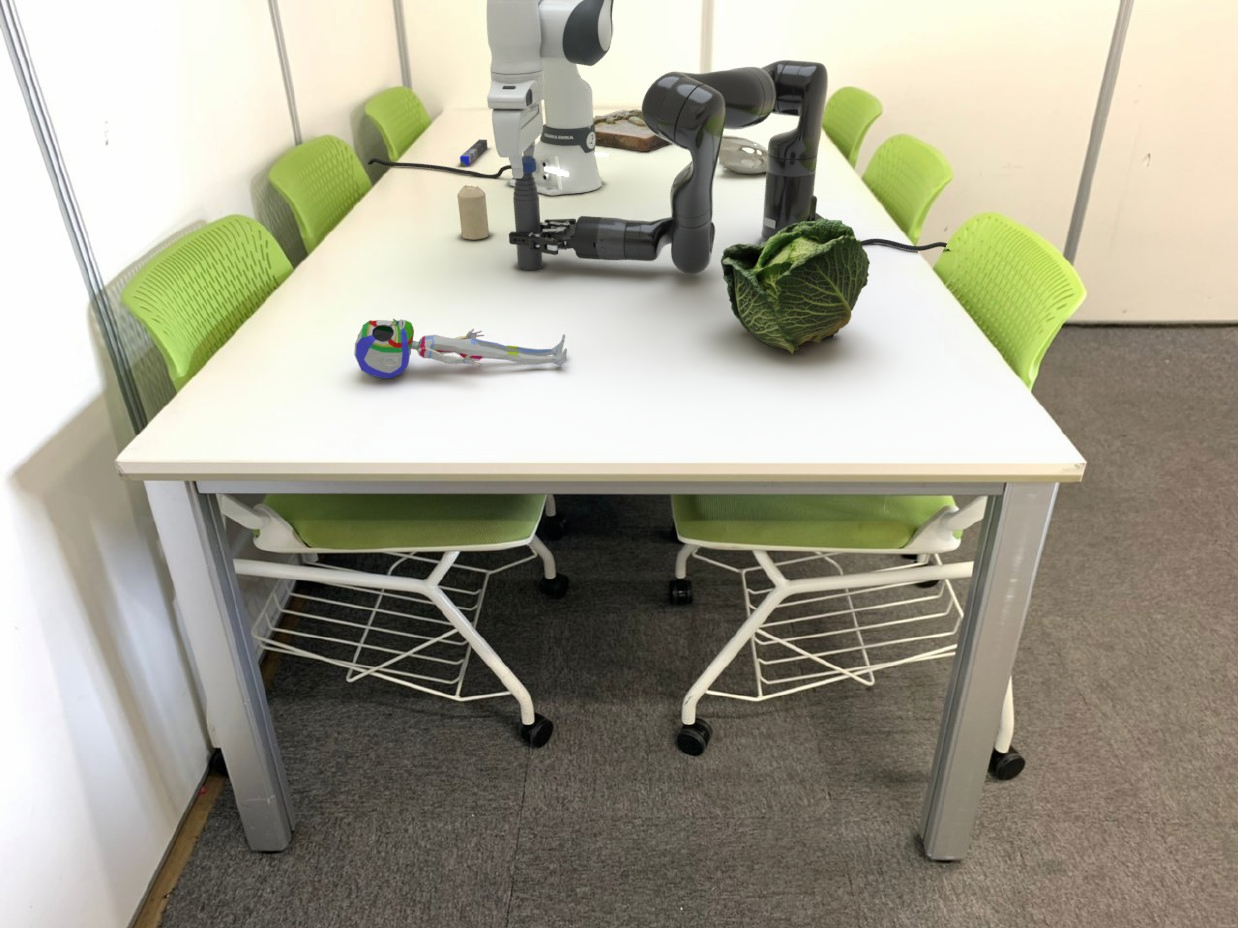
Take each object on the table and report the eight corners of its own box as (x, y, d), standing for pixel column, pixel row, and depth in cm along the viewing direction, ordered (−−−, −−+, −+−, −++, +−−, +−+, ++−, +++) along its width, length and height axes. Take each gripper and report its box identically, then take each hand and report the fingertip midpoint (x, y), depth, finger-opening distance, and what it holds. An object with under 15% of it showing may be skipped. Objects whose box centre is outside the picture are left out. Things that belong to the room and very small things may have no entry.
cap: (524, 175, 157) (524, 164, 156) (507, 171, 159) (506, 160, 158) (541, 170, 159) (540, 159, 158) (523, 166, 162) (523, 155, 161)
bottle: (513, 266, 168) (505, 163, 158) (530, 260, 171) (524, 158, 161) (530, 272, 166) (523, 167, 156) (547, 265, 169) (542, 162, 159)
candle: (493, 232, 185) (489, 183, 180) (481, 241, 181) (476, 191, 175) (469, 230, 187) (464, 181, 181) (457, 238, 182) (451, 189, 177)
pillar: (486, 139, 247) (467, 157, 231) (487, 147, 249) (468, 166, 232) (479, 139, 248) (459, 157, 231) (479, 147, 249) (460, 166, 232)
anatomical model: (705, 127, 227) (805, 126, 223) (705, 164, 232) (803, 164, 228) (701, 141, 214) (807, 140, 211) (701, 180, 219) (804, 180, 216)
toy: (569, 347, 126) (349, 329, 122) (563, 400, 131) (350, 385, 126) (565, 318, 135) (359, 301, 130) (559, 369, 139) (360, 354, 134)
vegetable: (752, 365, 147) (694, 260, 139) (847, 299, 148) (795, 192, 140) (808, 391, 128) (745, 272, 121) (916, 316, 130) (860, 193, 122)
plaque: (647, 125, 237) (559, 112, 252) (647, 153, 241) (560, 139, 256) (706, 107, 258) (622, 97, 273) (705, 133, 262) (622, 121, 277)
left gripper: (514, 78, 161) (520, 157, 168) (483, 99, 144) (491, 186, 151) (549, 78, 160) (553, 158, 168) (522, 100, 143) (528, 187, 150)
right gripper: (612, 206, 166) (524, 202, 170) (593, 230, 155) (499, 225, 158) (613, 246, 170) (527, 240, 174) (594, 272, 159) (503, 266, 162)
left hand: (523, 172), depth 159 cm, fingers open, 6 cm apart
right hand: (514, 233), depth 166 cm, fingers closed on bottle, 4 cm apart
